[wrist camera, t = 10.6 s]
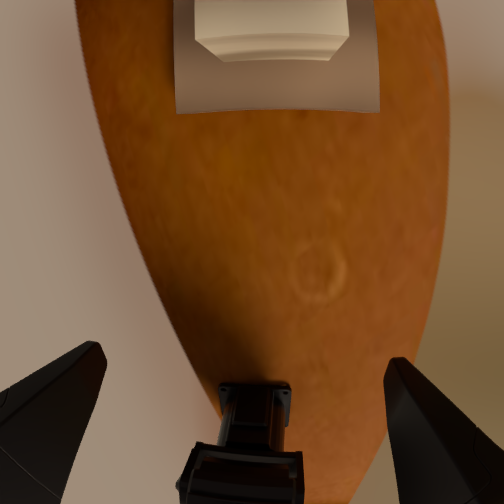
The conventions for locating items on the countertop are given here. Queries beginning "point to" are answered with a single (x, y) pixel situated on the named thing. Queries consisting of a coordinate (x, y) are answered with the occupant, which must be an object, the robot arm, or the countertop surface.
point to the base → (278, 72)
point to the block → (271, 28)
